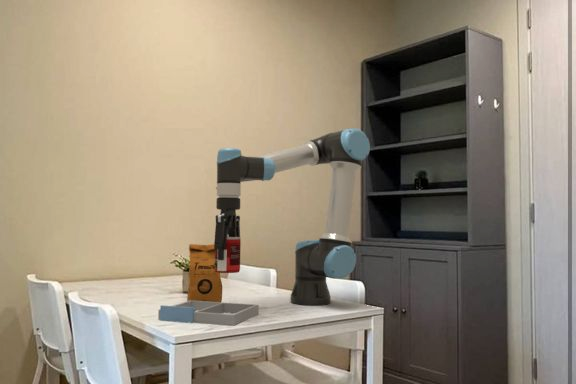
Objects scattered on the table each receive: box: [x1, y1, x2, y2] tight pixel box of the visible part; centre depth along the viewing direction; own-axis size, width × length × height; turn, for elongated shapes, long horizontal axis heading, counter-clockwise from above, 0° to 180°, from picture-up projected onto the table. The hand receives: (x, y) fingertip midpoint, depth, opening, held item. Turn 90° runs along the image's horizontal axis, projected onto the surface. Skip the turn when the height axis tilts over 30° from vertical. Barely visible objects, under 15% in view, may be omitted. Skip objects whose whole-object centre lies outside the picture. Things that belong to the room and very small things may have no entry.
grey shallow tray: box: [157, 300, 259, 327], centre depth 164 cm, size 25×21×4 cm
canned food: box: [215, 236, 241, 274], centre depth 164 cm, size 8×8×11 cm
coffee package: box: [186, 243, 223, 302], centre depth 186 cm, size 10×12×22 cm
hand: (227, 269), depth 164 cm, fingers closed on canned food, 8 cm apart
